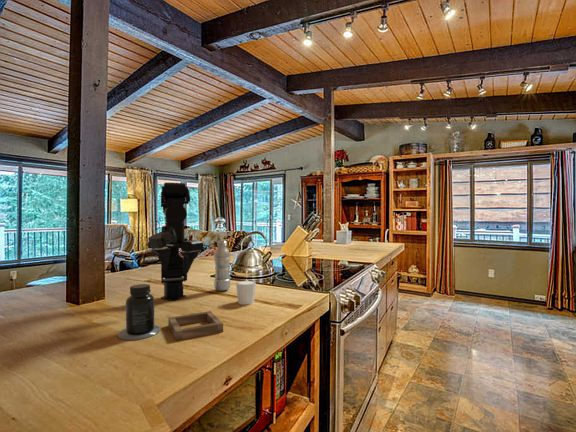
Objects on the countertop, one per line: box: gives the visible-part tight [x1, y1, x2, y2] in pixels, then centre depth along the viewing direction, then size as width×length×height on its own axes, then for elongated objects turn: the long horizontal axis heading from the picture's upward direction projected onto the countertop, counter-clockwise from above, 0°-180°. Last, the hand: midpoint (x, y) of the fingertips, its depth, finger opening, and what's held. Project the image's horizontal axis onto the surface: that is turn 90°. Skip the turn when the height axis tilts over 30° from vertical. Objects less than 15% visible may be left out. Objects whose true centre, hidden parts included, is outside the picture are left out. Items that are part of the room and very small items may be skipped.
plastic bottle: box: [213, 240, 232, 292], centre depth 128 cm, size 6×7×20 cm
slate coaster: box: [117, 324, 161, 341], centre depth 84 cm, size 10×10×1 cm
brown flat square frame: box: [167, 310, 224, 342], centre depth 87 cm, size 12×12×2 cm
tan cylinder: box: [235, 280, 257, 306], centre depth 111 cm, size 7×7×7 cm
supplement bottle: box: [125, 283, 155, 335], centre depth 84 cm, size 7×7×12 cm
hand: (175, 272), depth 100 cm, fingers open, 9 cm apart
